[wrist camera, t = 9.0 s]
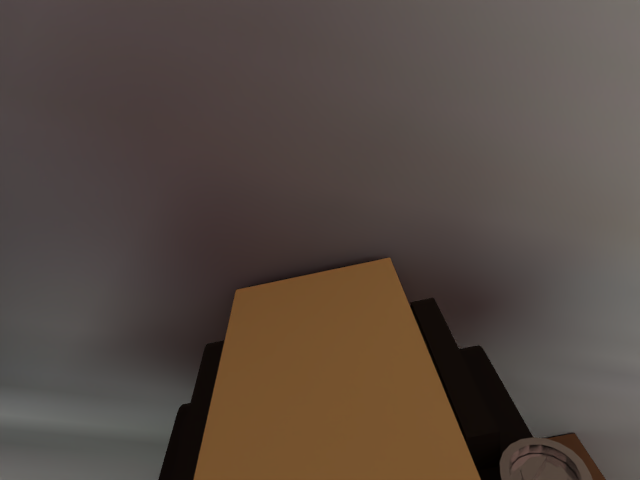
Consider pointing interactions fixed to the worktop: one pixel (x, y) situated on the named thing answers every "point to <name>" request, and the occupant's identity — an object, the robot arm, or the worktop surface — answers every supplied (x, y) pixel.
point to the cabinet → (580, 453)
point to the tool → (329, 386)
